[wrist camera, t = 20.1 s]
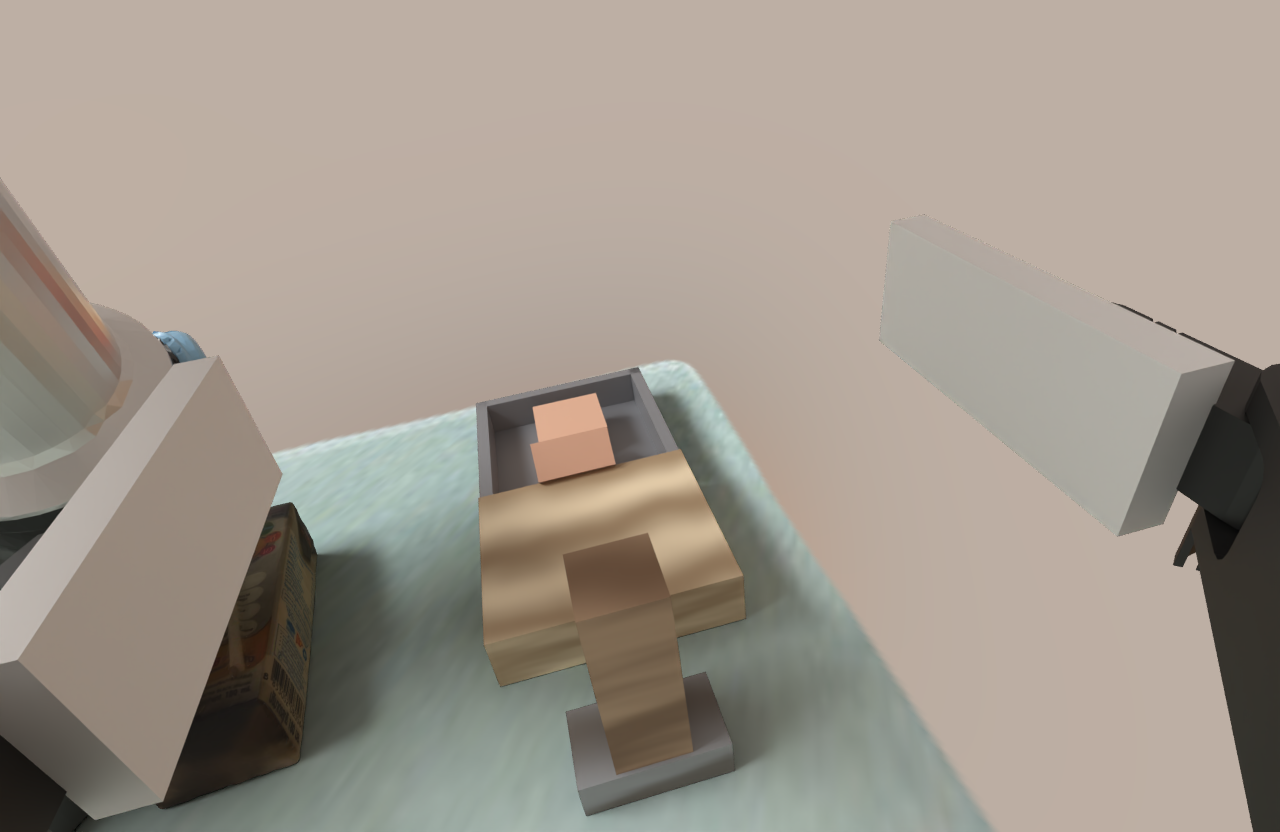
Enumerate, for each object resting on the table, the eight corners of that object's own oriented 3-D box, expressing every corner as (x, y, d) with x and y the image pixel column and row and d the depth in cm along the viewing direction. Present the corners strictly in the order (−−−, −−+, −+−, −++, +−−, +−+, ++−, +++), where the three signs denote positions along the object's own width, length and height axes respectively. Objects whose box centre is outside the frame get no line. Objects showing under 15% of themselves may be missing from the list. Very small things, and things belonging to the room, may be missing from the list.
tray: (684, 486, 55) (680, 452, 53) (491, 534, 53) (479, 500, 51) (642, 397, 67) (638, 367, 65) (485, 433, 65) (476, 403, 63)
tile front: (615, 464, 51) (606, 426, 51) (538, 482, 50) (530, 444, 51) (612, 470, 57) (603, 436, 57) (543, 487, 56) (535, 452, 57)
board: (745, 618, 43) (743, 575, 41) (500, 686, 41) (483, 645, 39) (685, 488, 55) (680, 449, 52) (491, 536, 53) (478, 497, 50)
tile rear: (595, 392, 62) (600, 419, 64) (532, 407, 61) (539, 433, 63) (607, 426, 57) (612, 454, 59) (538, 442, 56) (545, 470, 58)
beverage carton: (325, 551, 54) (292, 489, 50) (309, 767, 38) (260, 699, 35) (220, 584, 52) (178, 522, 49) (159, 824, 37) (90, 759, 33)
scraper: (734, 770, 35) (718, 587, 27) (586, 816, 34) (526, 639, 26) (708, 698, 39) (688, 519, 31) (574, 737, 38) (518, 562, 30)
